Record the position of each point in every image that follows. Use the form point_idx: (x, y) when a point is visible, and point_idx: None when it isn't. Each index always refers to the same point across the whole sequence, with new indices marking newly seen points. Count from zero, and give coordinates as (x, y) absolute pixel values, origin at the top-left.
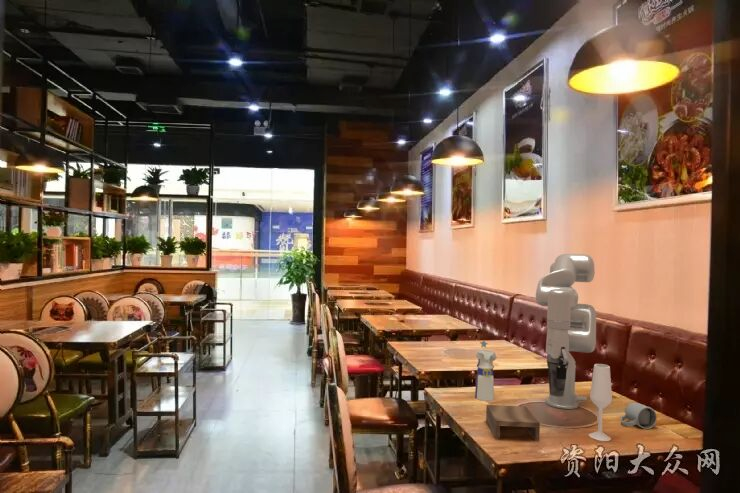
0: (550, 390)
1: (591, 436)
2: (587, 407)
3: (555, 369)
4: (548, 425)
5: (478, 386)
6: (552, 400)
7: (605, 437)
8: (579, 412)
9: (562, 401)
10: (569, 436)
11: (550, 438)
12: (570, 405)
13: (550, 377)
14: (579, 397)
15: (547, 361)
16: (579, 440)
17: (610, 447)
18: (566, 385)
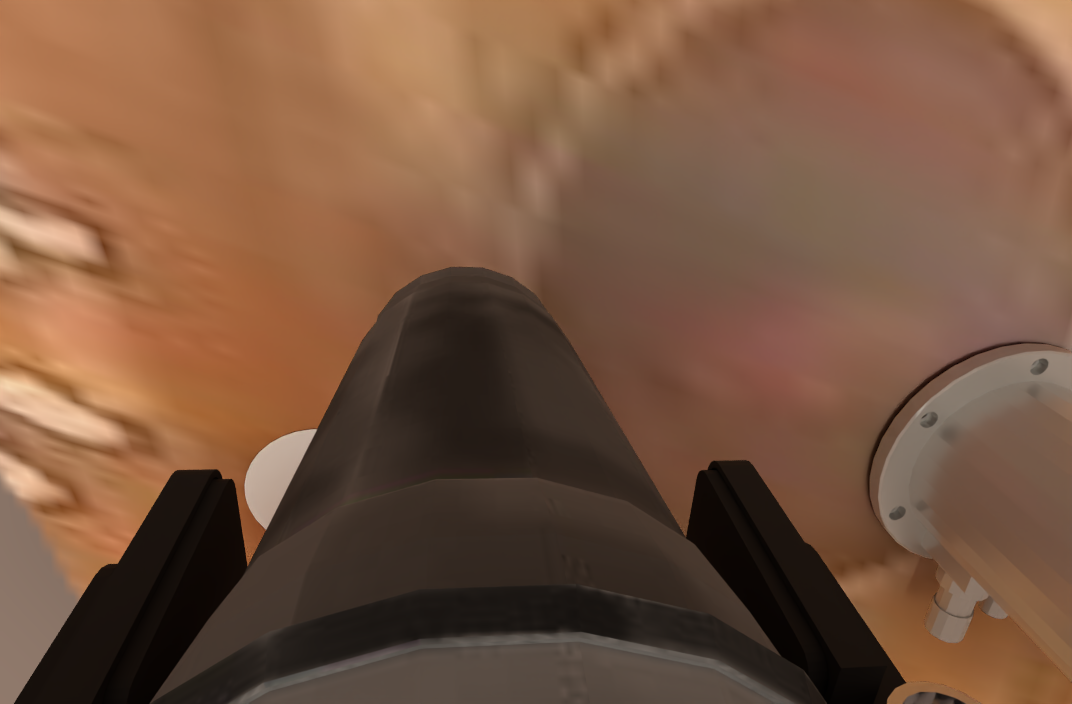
0: (447, 285)
1: (304, 438)
2: (889, 591)
3: (215, 612)
4: (527, 182)
5: None
6: (1005, 398)
7: (271, 519)
8: (805, 516)
9: (942, 462)
10: (283, 275)
11: (187, 78)
12: (903, 497)
13: (404, 377)
14: (960, 599)
15: (459, 607)
16: (208, 325)
17: (122, 492)
18: (1033, 584)
